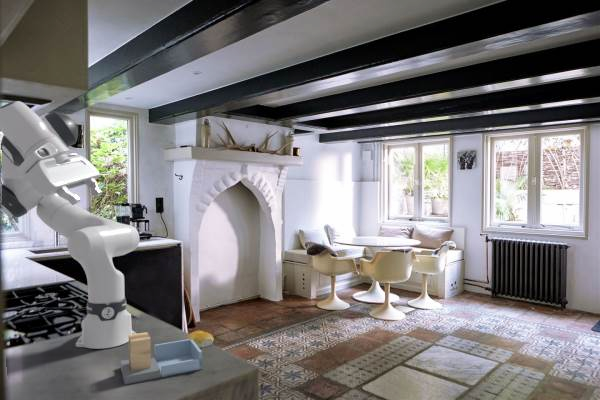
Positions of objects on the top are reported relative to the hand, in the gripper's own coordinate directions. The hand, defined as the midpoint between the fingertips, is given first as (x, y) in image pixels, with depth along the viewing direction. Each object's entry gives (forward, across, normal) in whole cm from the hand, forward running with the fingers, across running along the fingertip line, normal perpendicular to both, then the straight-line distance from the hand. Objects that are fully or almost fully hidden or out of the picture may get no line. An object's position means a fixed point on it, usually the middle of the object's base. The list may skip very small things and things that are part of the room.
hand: (88, 198), depth 109 cm
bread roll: (+53, -24, -21) cm, 62 cm away
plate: (+43, 0, -25) cm, 50 cm away
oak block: (+42, -1, -24) cm, 48 cm away
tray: (+50, -6, -19) cm, 53 cm away
